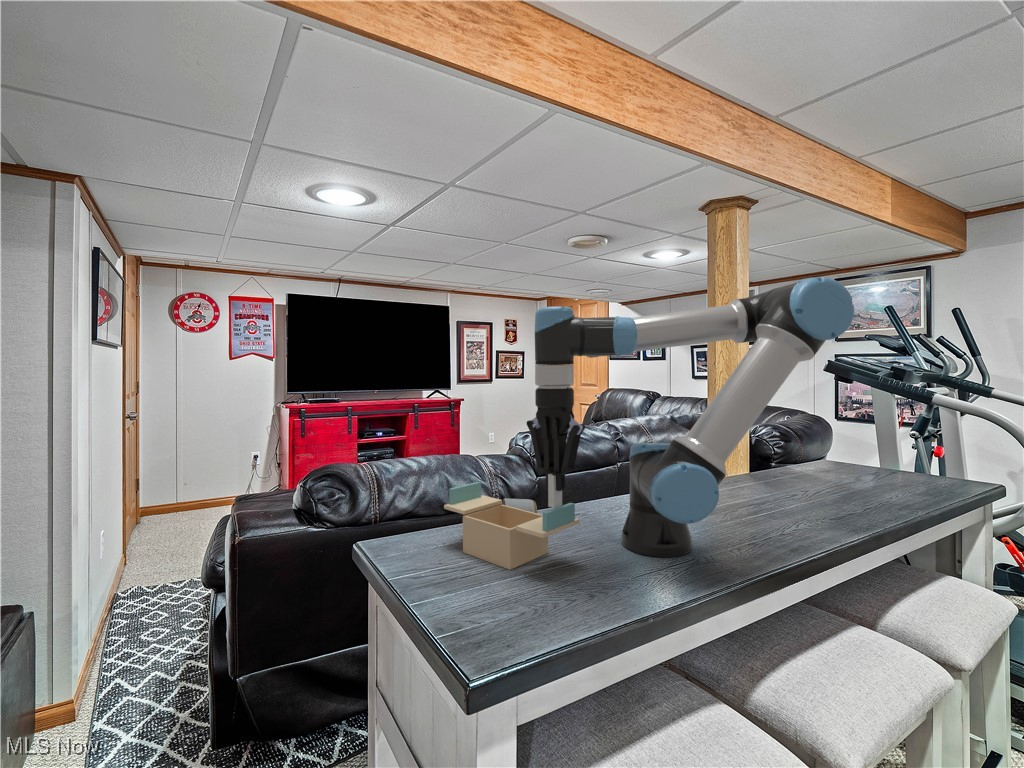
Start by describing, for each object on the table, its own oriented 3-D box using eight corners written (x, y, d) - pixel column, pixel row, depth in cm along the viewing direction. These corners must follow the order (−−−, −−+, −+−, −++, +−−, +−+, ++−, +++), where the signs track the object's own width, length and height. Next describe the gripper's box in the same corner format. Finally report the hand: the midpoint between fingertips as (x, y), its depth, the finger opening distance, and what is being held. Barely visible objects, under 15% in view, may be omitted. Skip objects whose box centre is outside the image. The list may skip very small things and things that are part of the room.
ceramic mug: (538, 532, 122) (538, 501, 121) (505, 534, 120) (505, 503, 120) (529, 520, 132) (529, 491, 132) (499, 522, 131) (498, 492, 130)
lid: (502, 503, 117) (502, 485, 117) (464, 514, 109) (464, 494, 108) (481, 498, 122) (481, 480, 122) (444, 508, 113) (443, 489, 113)
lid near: (579, 523, 102) (579, 502, 102) (542, 538, 94) (542, 515, 94) (553, 516, 107) (553, 496, 107) (515, 530, 98) (515, 508, 98)
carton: (548, 552, 108) (548, 516, 108) (510, 569, 100) (509, 530, 99) (501, 538, 118) (501, 504, 118) (463, 552, 109) (462, 515, 109)
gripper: (593, 386, 97) (593, 507, 98) (541, 385, 105) (542, 496, 107) (569, 388, 91) (570, 517, 92) (517, 386, 100) (518, 504, 101)
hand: (555, 505), depth 99 cm, fingers closed
